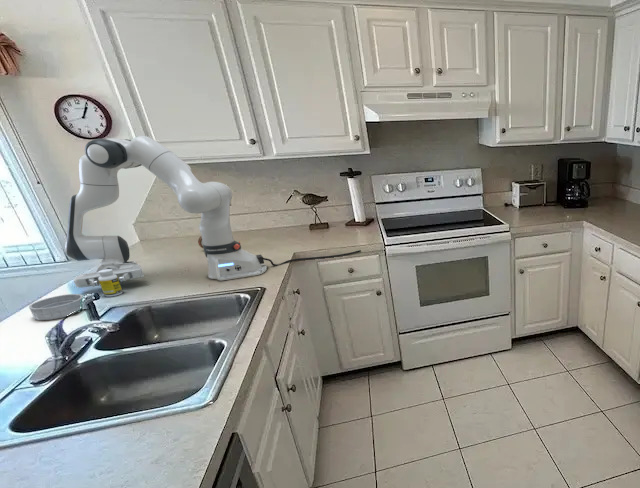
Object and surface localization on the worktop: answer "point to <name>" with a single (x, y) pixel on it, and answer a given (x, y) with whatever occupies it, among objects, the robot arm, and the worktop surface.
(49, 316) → the grey shallow bowl
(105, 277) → the supplement bottle
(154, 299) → the worktop surface
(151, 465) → the worktop surface
